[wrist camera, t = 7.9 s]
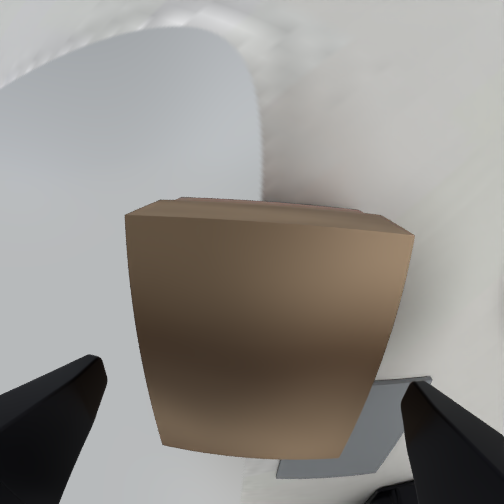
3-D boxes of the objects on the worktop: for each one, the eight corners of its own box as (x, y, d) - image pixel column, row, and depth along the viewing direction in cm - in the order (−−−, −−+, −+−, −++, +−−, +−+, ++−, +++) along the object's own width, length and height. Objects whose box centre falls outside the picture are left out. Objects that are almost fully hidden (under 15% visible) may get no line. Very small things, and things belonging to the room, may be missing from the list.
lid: (331, 415, 12) (338, 458, 9) (177, 404, 12) (162, 444, 9) (380, 215, 9) (414, 235, 6) (160, 199, 9) (124, 215, 7)
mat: (374, 469, 19) (375, 472, 19) (276, 474, 20) (276, 478, 19) (430, 376, 15) (432, 380, 15) (299, 381, 16) (299, 386, 15)
